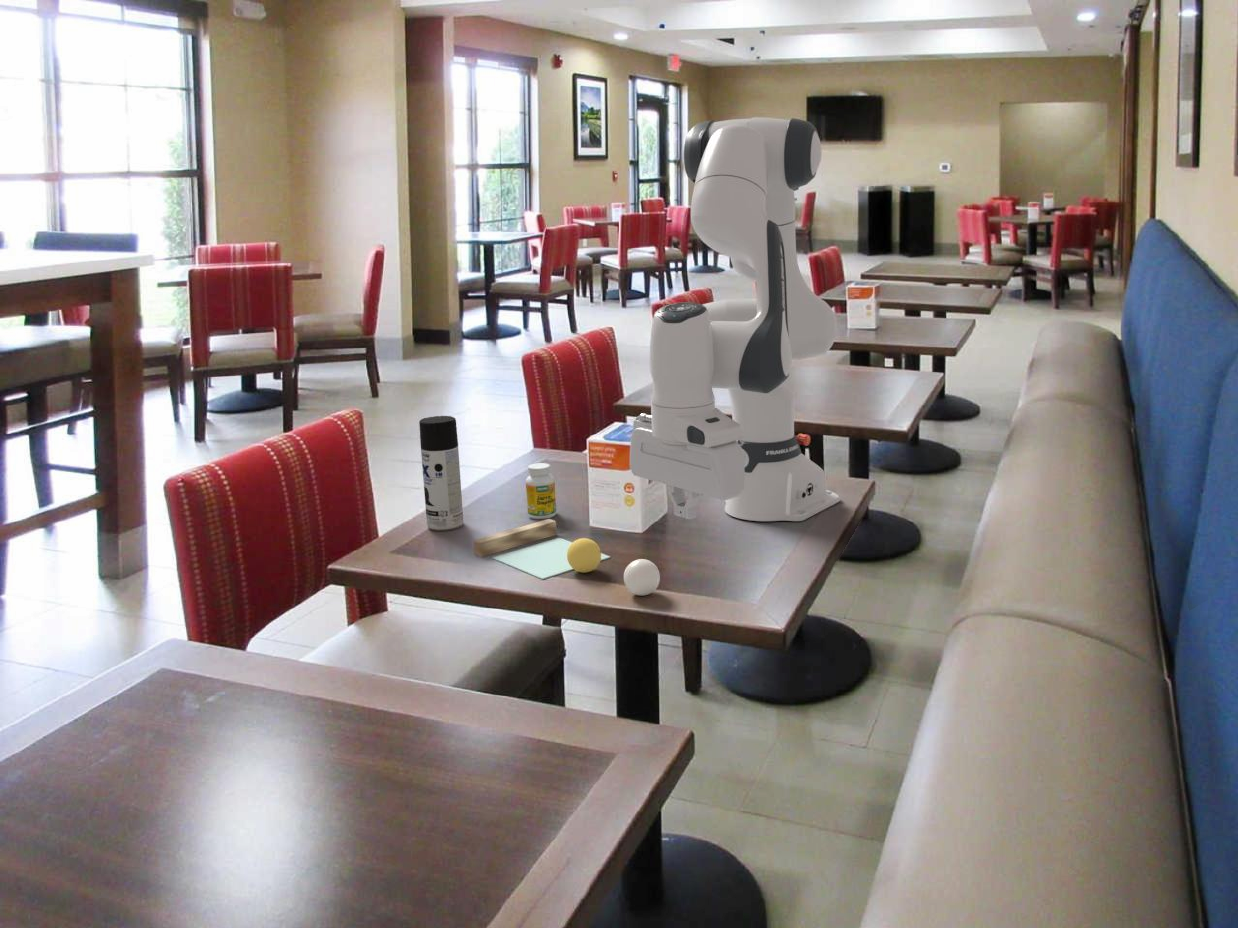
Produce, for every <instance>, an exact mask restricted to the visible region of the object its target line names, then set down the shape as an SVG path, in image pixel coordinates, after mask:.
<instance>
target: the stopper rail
mask: <svg viewBox="0 0 1238 928" xmlns="http://www.w3.org/2000/svg"><path fill="white" fill-rule="evenodd" d="M557 532H558V531H557V521H556V520H553V519H551V518H547V519H542V520H540V521H537V522H532V523H530V524H527V525H522V526H519V527H516V528H513V529H508V530H505V531H501V532H498V533H494V534H491V535H487V536H484V537H479V538H477V539H473V540H472V542H473V552H474V553H473V554H474V555H475V556H476V557H477V556H478V557H480V558H482V557H486V556H490V555H492V554H493V555H494V554H496V553H500V552H503V551H506V550H510V549H512V548H516V547H520V546H523V545H526V544H531V543H532V542H533V543H534V542H537V541H540V540H544V539H546V538H550V537H553V536H557V535H558V534H557Z"/></svg>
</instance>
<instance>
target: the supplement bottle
mask: <svg viewBox="0 0 1238 928" xmlns="http://www.w3.org/2000/svg"><path fill="white" fill-rule="evenodd" d="M527 468H528V476H527V477H526V479H525V490H526V493H525V494H526V503H527V515H528V517H529V518H531V519H534V520H547V519H551V518H553V517H554V516H556V514H557V497H556V484H555V483H556V482H555V477H554V476H553V475H552V474H551V465H550V464H549V463H546V462H538V463H532V464H530V465H528V466H527Z"/></svg>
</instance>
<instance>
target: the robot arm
mask: <svg viewBox="0 0 1238 928" xmlns="http://www.w3.org/2000/svg"><path fill="white" fill-rule="evenodd" d="M682 151H683V152H682V160H683V165H684V172H685V174H686V176H687V178H688V179H689V180H690V181H691V182H692V183H693V184H694V186H693V190H692V196H691V203H690V223H691V225H692V228H693V230H694V233H695V234H696V236H697V237H698V238H699V239H700V240H701V242H703V243H704V244H705V245H706V246H707V247H709V248H711V249H712V250H713V251H715V252H716V253H718V254H720V255H723V256H725V257H728V258H730V261H731V265H732V267H733V268H734V270H735V272H737V274H739V275H740V276H742V277H743V278H745V279H747V280H749V281H752V282H754V283H755V287H756V289H755V290H756V291H755V292H756V293H755V296H756V297H755V298H726V299H724V298H723V299H719V300H716V301H711V302H706V303H702V304H700V303H697V302H690V301H684V302H683V301H682V302H675V303H671V304H666V305H664V306H662V307H660V308H659V309H657V310H656V311H655V312H654V314H653V319H652V324H651V329H650V330H651V331H650V342H649V344H650V345H649V372H650V373H649V374H650V376H651V380H652V385H653V386H652V387H653V388H652V394H651V397H650V413H651V414H647V413H640V414H639V415H638V416H636V418H635V419H634V420H633V424H632V425H633V426H632V427H633V429H632V430H633V431H632V434H631V438H630V446H629V448H630V449H629V469H630V471H631V473H632V475H633V476H634V477H639V478H643V479H645V480H649V481H653V482H656V483H661V484H663V485H666V487H667V493H668V494H667V495H668V496H669V498H670V500H671V503H672V504H673V514H674V516H676V517H680V518H683V519H686V520H692V519H693V520H694V519H696V518H697V516H698V510H697V508H698V506H699V503H700V501H701V499H702V497H703V495H704V496H705V497H710V498H714V499H718V500H721V501H724V502H725V506H724V512H725V513H726V514H728V515H729V516H731V517H732V518H733V517H734V518H736V519H740V520H746V521H754V522H777V521H779V522H780V521H788V522H802V521H805V520H807V519H809V518H810V517H813V516H815V515H816V514H818V513H820V512H822V511H824V510H826V509H828V508H829V507H831V506H834V505H835V504H837V503H839V502H840V496H839V495H838V494H837V493H836V492H833V491H831V490H828V489H827V486H828V485H827V476H826V473H825V471H824V470H823V468H821V466H819V465H818V464H817V463H815V462H814V461H812V460H811V459H809V458H808V457H807V456H806V455H805V454H803V453H802V450H801V447H800V445H803V446H804V447H805V446H806V447H807V446H809V445H810V443H811V439H812V438H811V436H810V435H809V434H803V433H798V434H797V435H796V434H795V397H794V393H793V392H792V391H791V389H790V388H789V387H788V386H787V385H785V384H784V382H785V381H786V380H787V379H788V378H789V376H790V372H791V368H792V361H794V360H795V361H796V360H797V361H799V360H804V359H805V360H806V359H810V358H815V357H819V356H823V355H826V354H827V353H828V352H829V350H830V349H831V348H832V346H834V345H833V344H834V343H835V340H836V337H837V333H838V321H837V317H836V315H835V311H833V309H832V307H831V306H830V305H829V304H828V303H827V302H826V301H825V300H823V299H822V298H820V297H819V296H818V295H816V294H815V292H814V291H813V290H812V289H811V288H810V287H809V286H808V285H807V282H806V280H804V277H803V276H802V272H801V270H800V266H799V262H798V256H797V242H796V241H797V240H796V199H795V191H798V190H799V188H801V187H804V186H806V185H808V184H809V183H810V182H812V180H813V179H814V178H815V177H816V174H817V170H819V167H820V164H821V159H822V144H821V139H820V137H819V132H818V130H817V128H816V127H815V126H814V125H813V123H812V122H811V121H808V120H804V119H799V118H791V119H785V118H784V119H783V118H774V117H762V116H761V117H760V116H759V117H754V116H753V117H751V118H736V119H726V120H720V121H716V120H712V119H711V120H706V121H702V122H699V123H696V124H695V125H694V126H693V127H691V129H690V130H689V131H688V132H687V133H686V136H685V141H684V145H683V150H682ZM713 389H725V390H728V394H729V398H730V399H729V400H730V406H731V416H732V418H731V417H729V416H727V415H726V414H725V413H724V412H722V411H721V410H720V409H719V408H716V401H715V400H716V399H715V394H714V391H713ZM685 497H687V500H686V499H685Z"/></svg>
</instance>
